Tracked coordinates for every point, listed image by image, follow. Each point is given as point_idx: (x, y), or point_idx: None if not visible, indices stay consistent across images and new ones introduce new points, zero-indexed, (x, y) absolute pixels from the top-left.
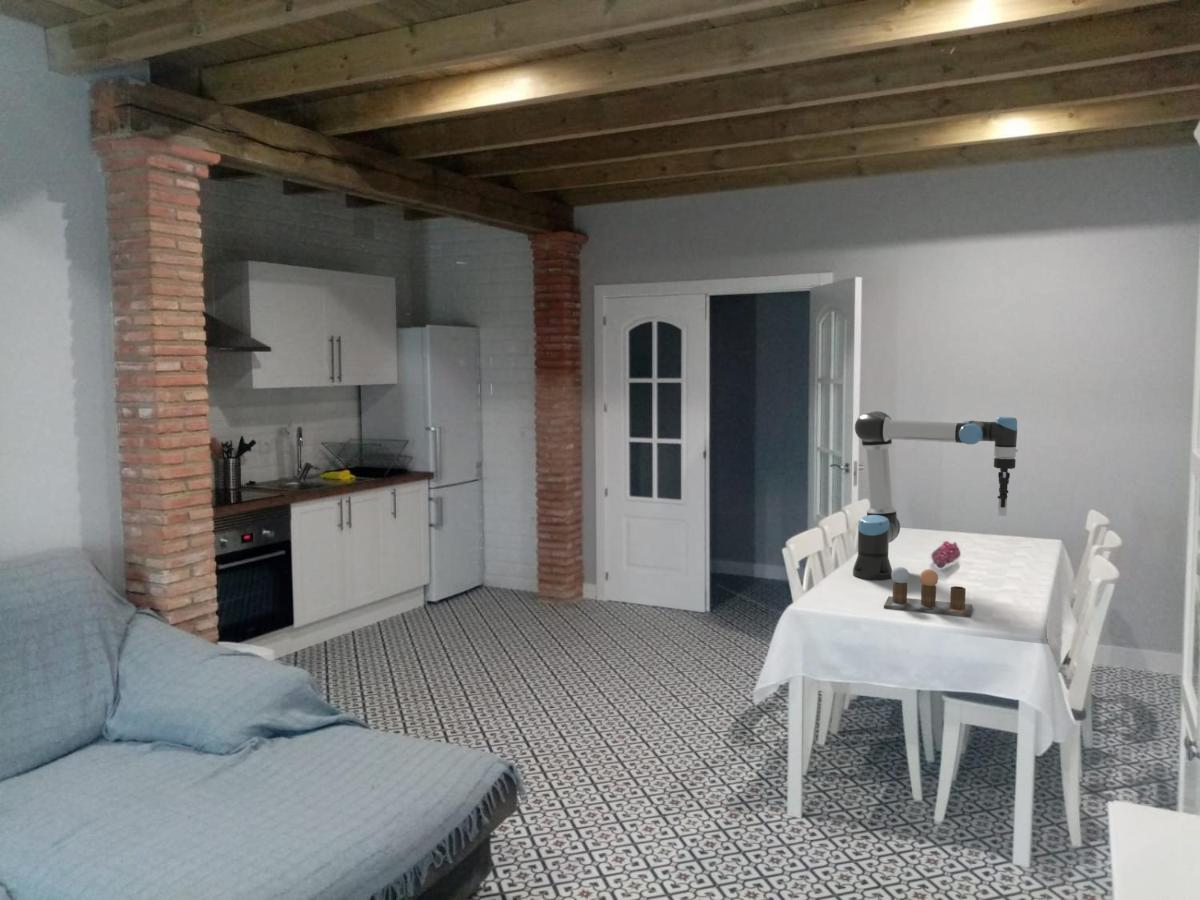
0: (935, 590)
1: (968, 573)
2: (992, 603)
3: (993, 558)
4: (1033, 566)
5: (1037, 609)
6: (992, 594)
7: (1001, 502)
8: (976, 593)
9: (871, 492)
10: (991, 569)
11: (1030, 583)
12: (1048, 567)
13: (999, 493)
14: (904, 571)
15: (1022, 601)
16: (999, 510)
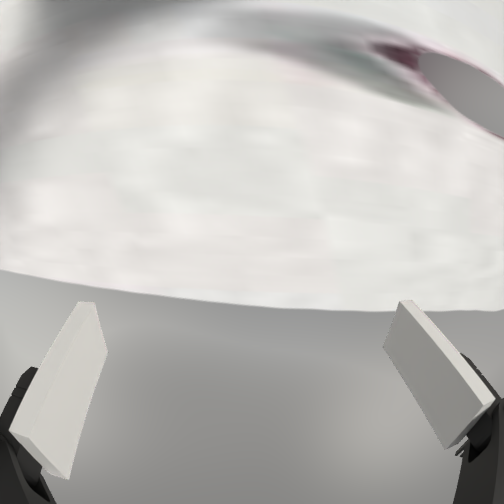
0: None
1: (325, 111)
2: (12, 183)
3: (478, 204)
4: (423, 281)
5: (16, 269)
6: (81, 175)
7: (9, 405)
8: (76, 136)
9: None
10: (388, 183)
11: (247, 271)
12: None
13: (479, 407)
14: None
15: (53, 245)
16: (62, 336)
